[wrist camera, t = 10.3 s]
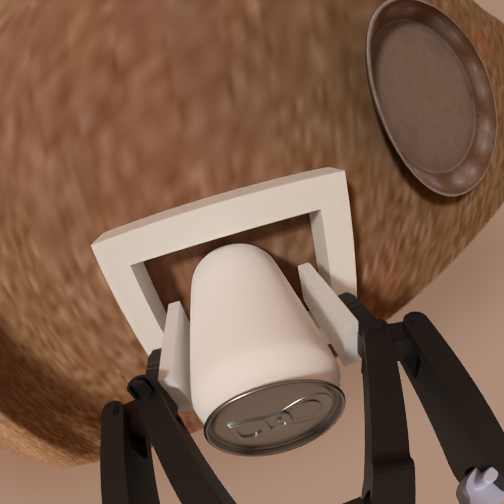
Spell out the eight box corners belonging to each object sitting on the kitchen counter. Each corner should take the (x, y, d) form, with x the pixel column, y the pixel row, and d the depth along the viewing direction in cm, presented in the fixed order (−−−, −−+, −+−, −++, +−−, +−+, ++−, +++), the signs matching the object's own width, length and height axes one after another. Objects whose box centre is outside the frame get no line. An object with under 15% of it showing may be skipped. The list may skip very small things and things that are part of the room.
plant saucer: (482, 71, 16) (501, 70, 13) (461, 211, 22) (482, 219, 19) (359, -24, 12) (377, -37, 9) (322, 148, 17) (343, 149, 15)
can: (288, 301, 21) (357, 426, 10) (212, 330, 21) (231, 470, 10) (264, 227, 19) (350, 342, 8) (176, 261, 18) (157, 408, 7)
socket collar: (171, 367, 22) (170, 388, 20) (103, 232, 17) (90, 245, 14) (345, 316, 23) (357, 332, 21) (327, 166, 18) (344, 170, 15)
